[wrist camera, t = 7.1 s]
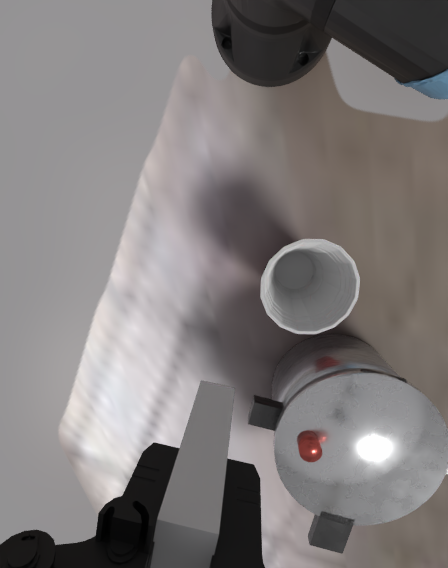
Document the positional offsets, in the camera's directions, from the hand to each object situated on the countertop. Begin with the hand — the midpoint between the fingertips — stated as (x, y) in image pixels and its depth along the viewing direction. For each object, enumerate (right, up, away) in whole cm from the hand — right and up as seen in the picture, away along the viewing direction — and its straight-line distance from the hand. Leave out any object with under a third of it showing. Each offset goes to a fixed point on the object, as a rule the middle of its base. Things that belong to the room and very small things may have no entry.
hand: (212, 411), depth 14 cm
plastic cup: (+11, +7, +32) cm, 35 cm away
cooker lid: (+15, -15, +24) cm, 32 cm away
